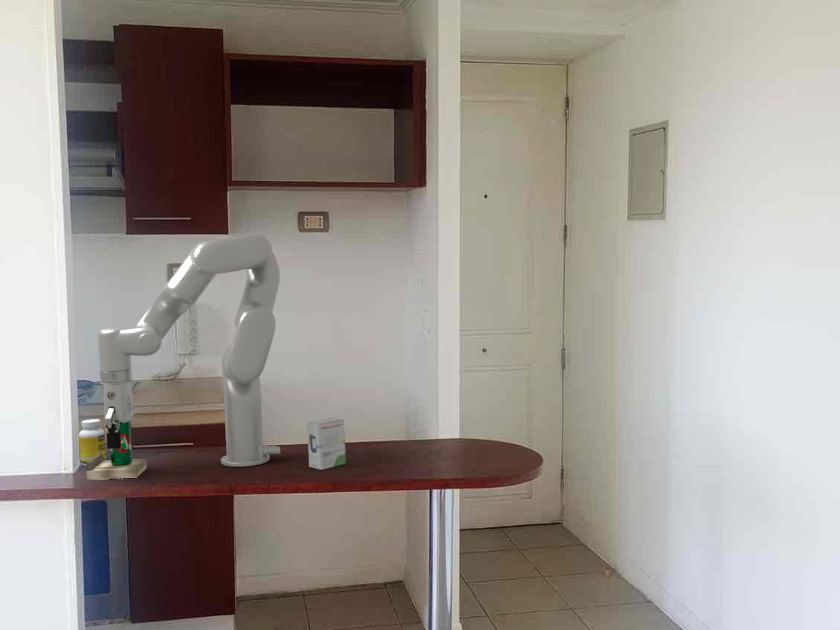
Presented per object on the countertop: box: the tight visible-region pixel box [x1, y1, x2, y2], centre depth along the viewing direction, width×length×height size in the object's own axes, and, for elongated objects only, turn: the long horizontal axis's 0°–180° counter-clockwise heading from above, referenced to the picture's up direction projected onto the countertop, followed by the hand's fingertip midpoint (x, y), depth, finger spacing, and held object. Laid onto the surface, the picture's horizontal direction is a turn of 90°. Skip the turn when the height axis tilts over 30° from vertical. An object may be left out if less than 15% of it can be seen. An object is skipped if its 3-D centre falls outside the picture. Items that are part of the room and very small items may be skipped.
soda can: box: [109, 420, 133, 466], centre depth 222 cm, size 5×5×12 cm
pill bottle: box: [78, 418, 107, 466], centre depth 234 cm, size 6×6×12 cm
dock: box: [86, 453, 148, 482], centre depth 222 cm, size 12×10×4 cm
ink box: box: [306, 417, 347, 471], centre depth 225 cm, size 9×5×12 cm, turn 134°
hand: (119, 443), depth 222 cm, fingers open, 9 cm apart
